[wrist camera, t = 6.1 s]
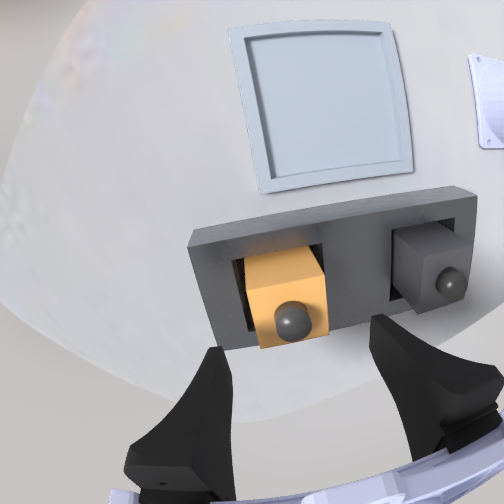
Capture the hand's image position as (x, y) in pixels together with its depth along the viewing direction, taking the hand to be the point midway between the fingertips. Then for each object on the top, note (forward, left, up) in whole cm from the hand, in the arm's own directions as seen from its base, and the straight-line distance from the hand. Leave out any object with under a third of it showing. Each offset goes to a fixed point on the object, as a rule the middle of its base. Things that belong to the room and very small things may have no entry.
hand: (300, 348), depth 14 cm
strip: (-5, 0, -8) cm, 10 cm away
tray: (-5, -11, -8) cm, 15 cm away
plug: (0, 0, -9) cm, 9 cm away
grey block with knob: (-10, 0, -9) cm, 13 cm away
